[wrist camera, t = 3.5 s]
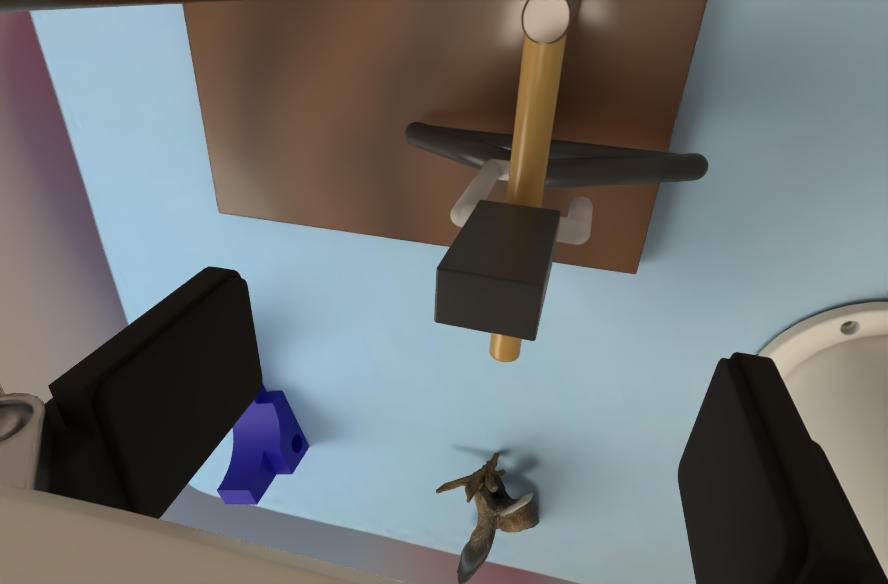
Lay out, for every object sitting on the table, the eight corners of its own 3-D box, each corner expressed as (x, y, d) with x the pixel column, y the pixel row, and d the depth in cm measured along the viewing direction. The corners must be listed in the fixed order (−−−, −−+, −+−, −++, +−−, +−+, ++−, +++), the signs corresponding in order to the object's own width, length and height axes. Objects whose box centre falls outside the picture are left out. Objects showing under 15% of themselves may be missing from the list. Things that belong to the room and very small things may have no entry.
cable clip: (309, 447, 46) (273, 504, 41) (264, 448, 47) (225, 504, 42) (251, 327, 41) (202, 376, 36) (204, 332, 42) (150, 380, 37)
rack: (705, -14, 24) (998, -7, 7) (635, 265, 31) (686, 622, 14) (188, -42, 29) (-436, -81, 11) (228, 206, 36) (-117, 417, 18)
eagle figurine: (421, 460, 42) (442, 555, 44) (448, 516, 35) (471, 625, 37) (511, 430, 43) (527, 523, 46) (554, 477, 37) (569, 584, 39)
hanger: (710, 147, 24) (822, 333, 11) (700, 181, 25) (793, 392, 12) (409, 114, 27) (223, 231, 14) (409, 145, 28) (232, 284, 15)
